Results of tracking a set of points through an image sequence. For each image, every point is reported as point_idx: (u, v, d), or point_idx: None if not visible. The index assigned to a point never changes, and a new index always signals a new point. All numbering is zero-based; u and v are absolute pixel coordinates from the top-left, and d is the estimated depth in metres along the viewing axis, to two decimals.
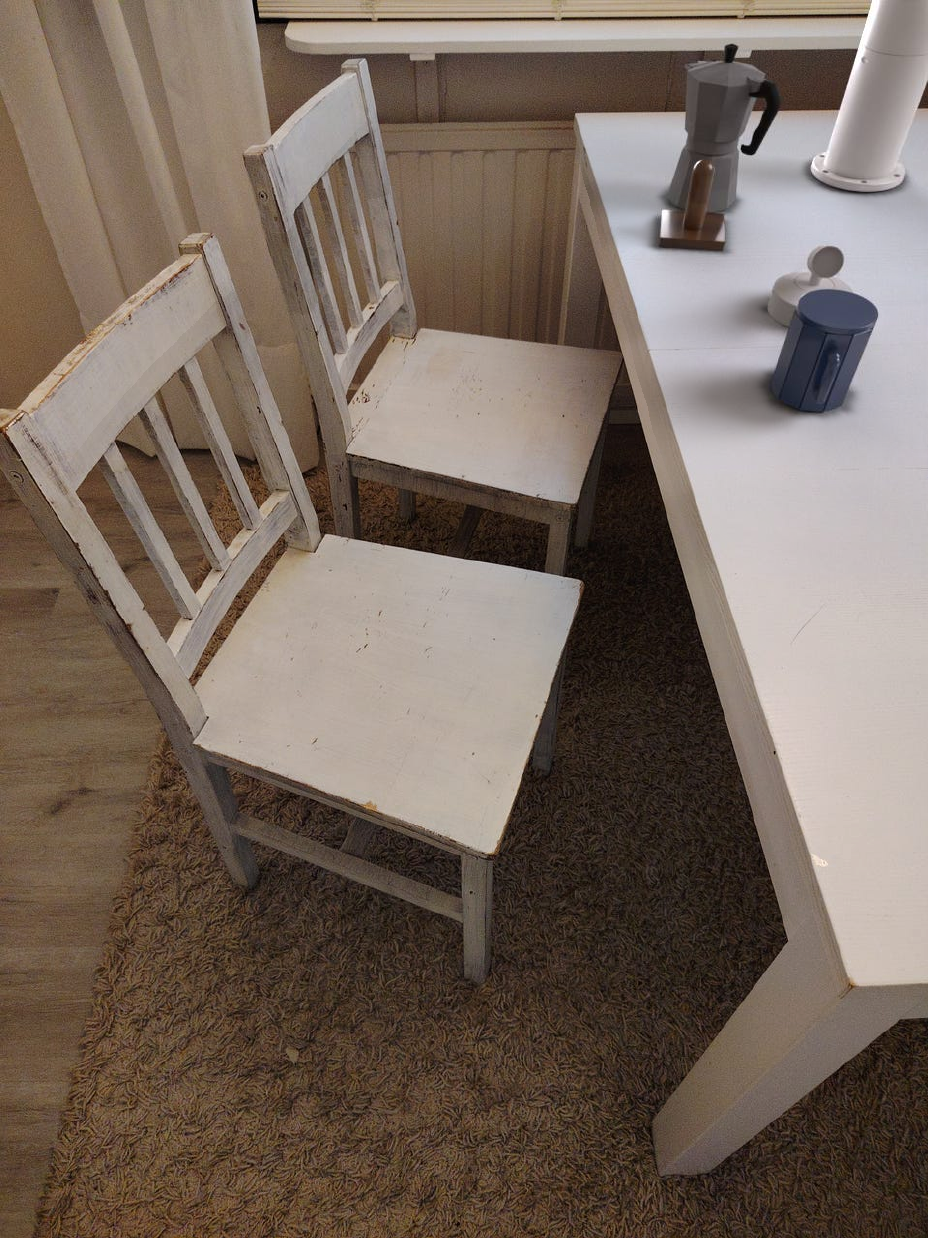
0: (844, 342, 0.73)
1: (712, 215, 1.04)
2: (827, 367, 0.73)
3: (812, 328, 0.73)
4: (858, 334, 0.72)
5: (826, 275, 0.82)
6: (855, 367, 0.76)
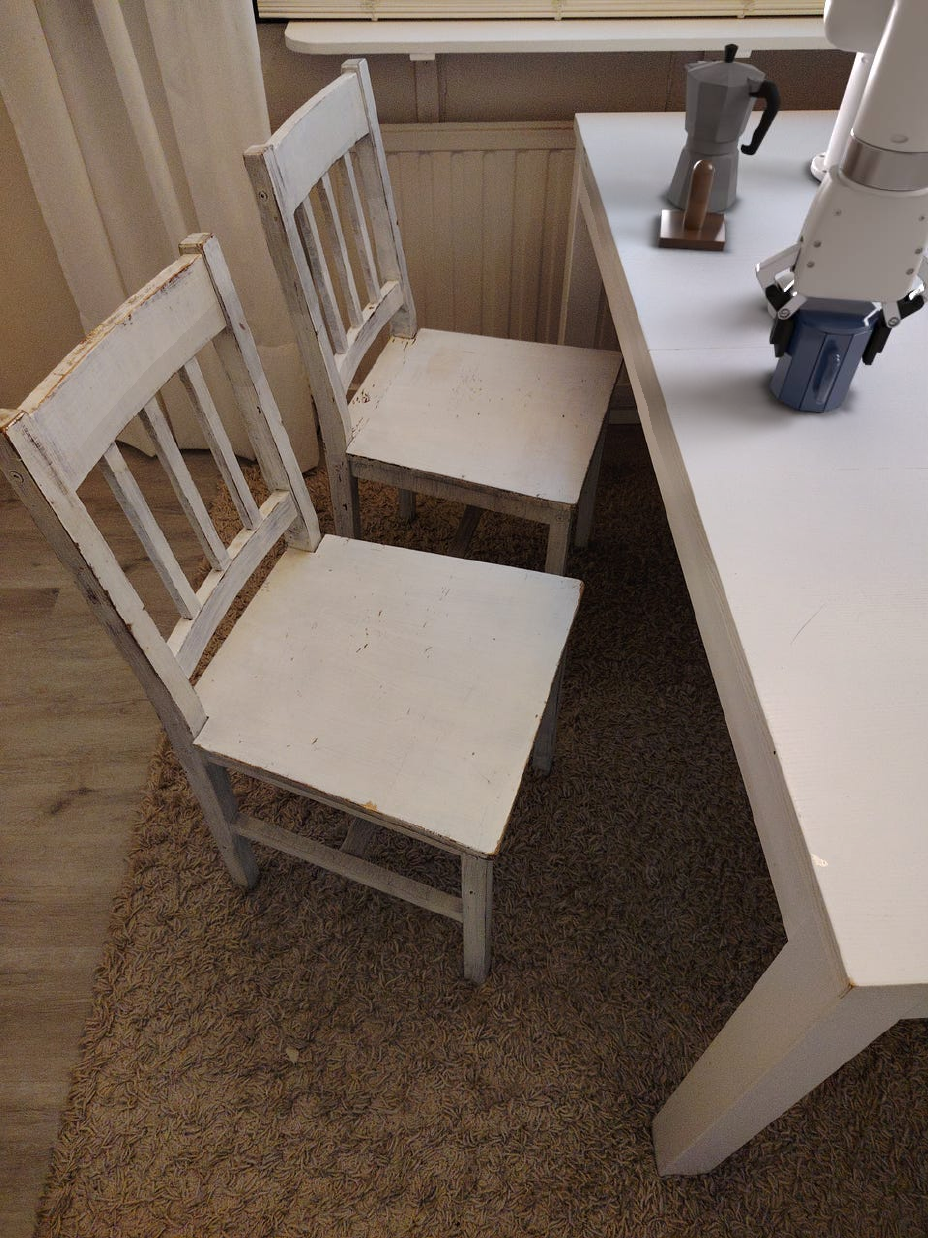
0: (844, 342, 0.73)
1: (712, 215, 1.04)
2: (827, 367, 0.73)
3: (812, 328, 0.73)
4: (858, 334, 0.72)
5: None
6: (855, 367, 0.76)
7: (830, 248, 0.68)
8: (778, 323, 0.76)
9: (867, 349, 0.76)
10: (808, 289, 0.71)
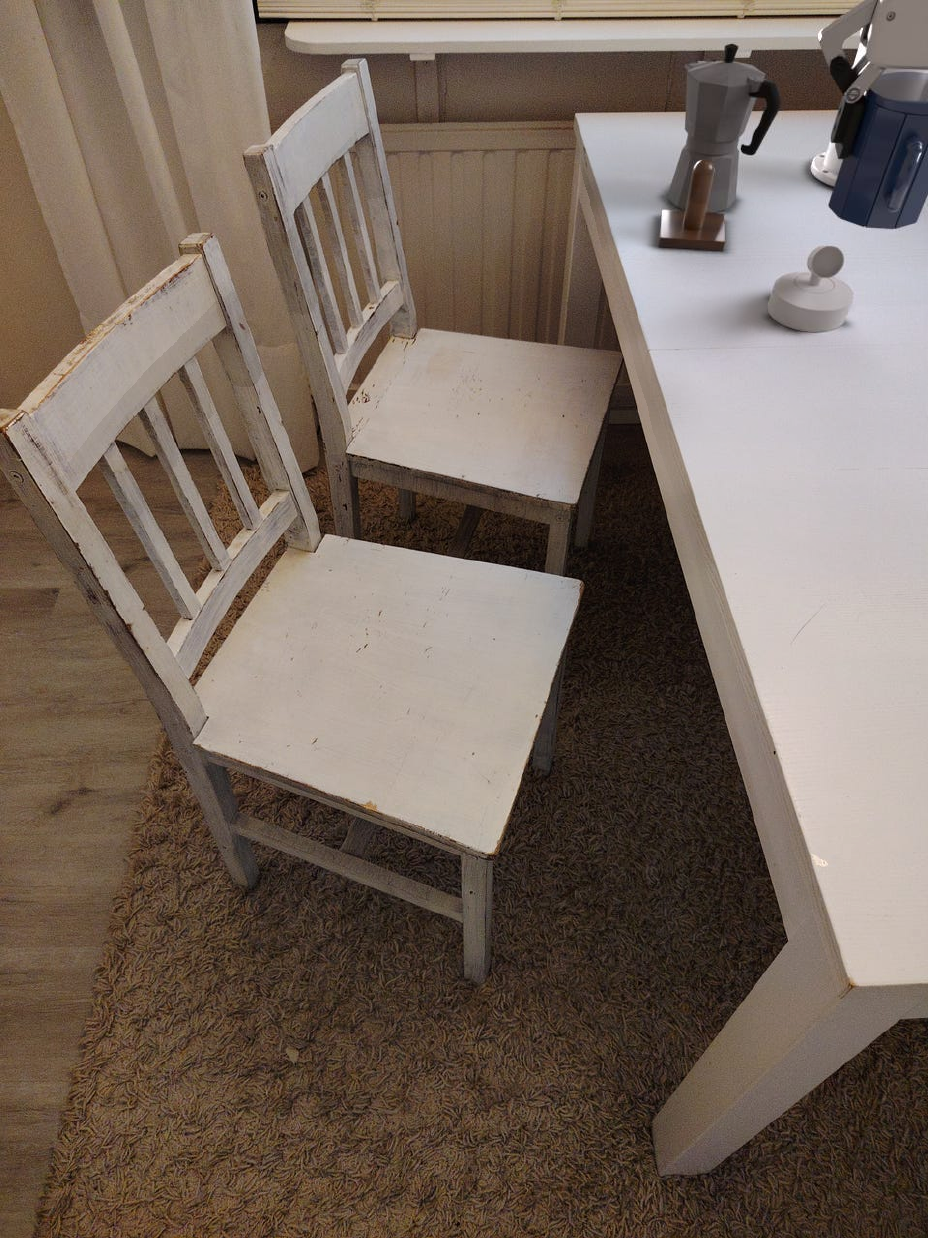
0: None
1: (712, 215, 1.04)
2: (906, 158, 0.60)
3: (888, 110, 0.60)
4: None
5: (826, 275, 0.82)
6: None
7: None
8: (844, 111, 0.62)
9: None
10: (885, 54, 0.58)
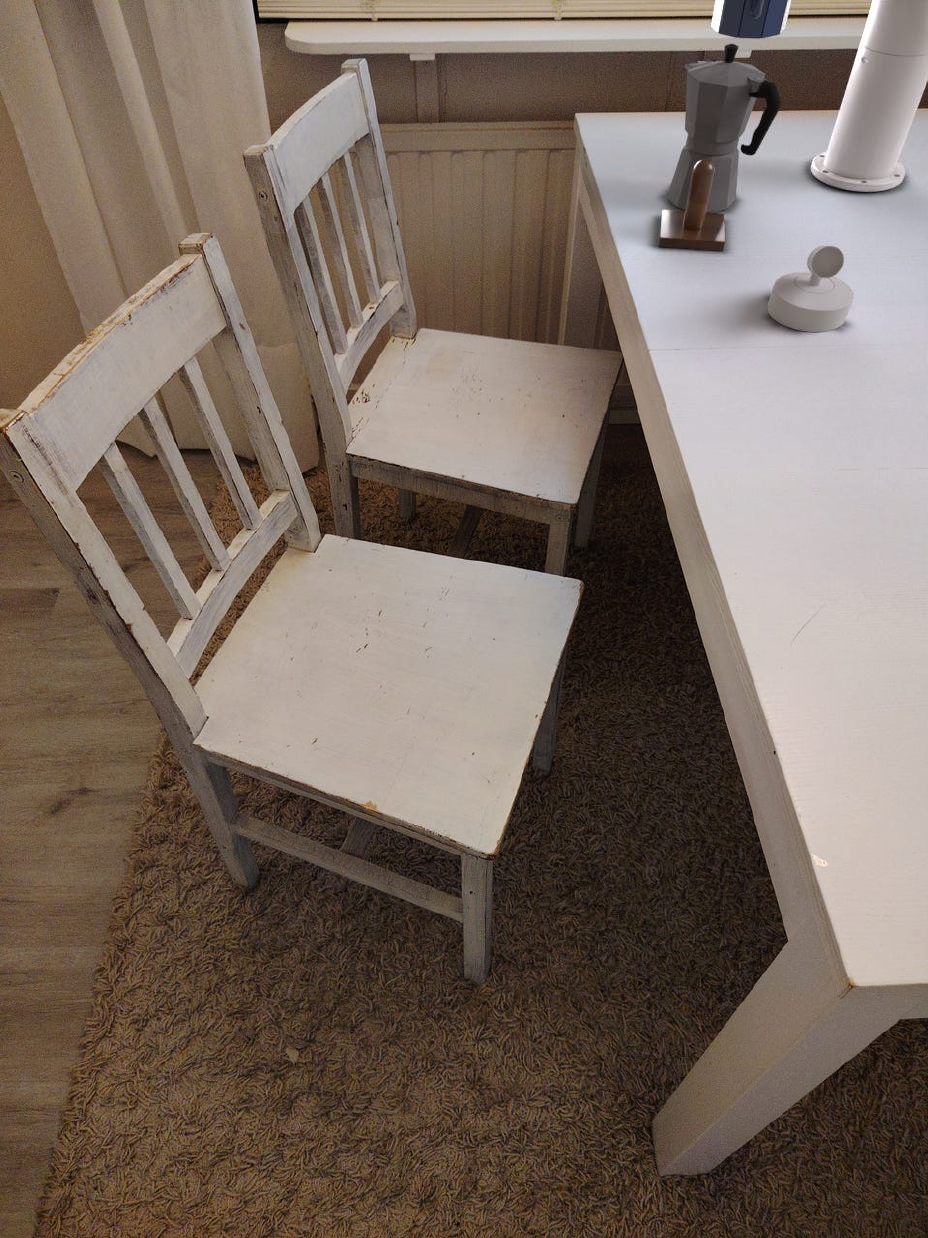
0: None
1: (712, 215, 1.04)
2: None
3: None
4: None
5: (826, 275, 0.82)
6: None
7: None
8: None
9: None
10: None
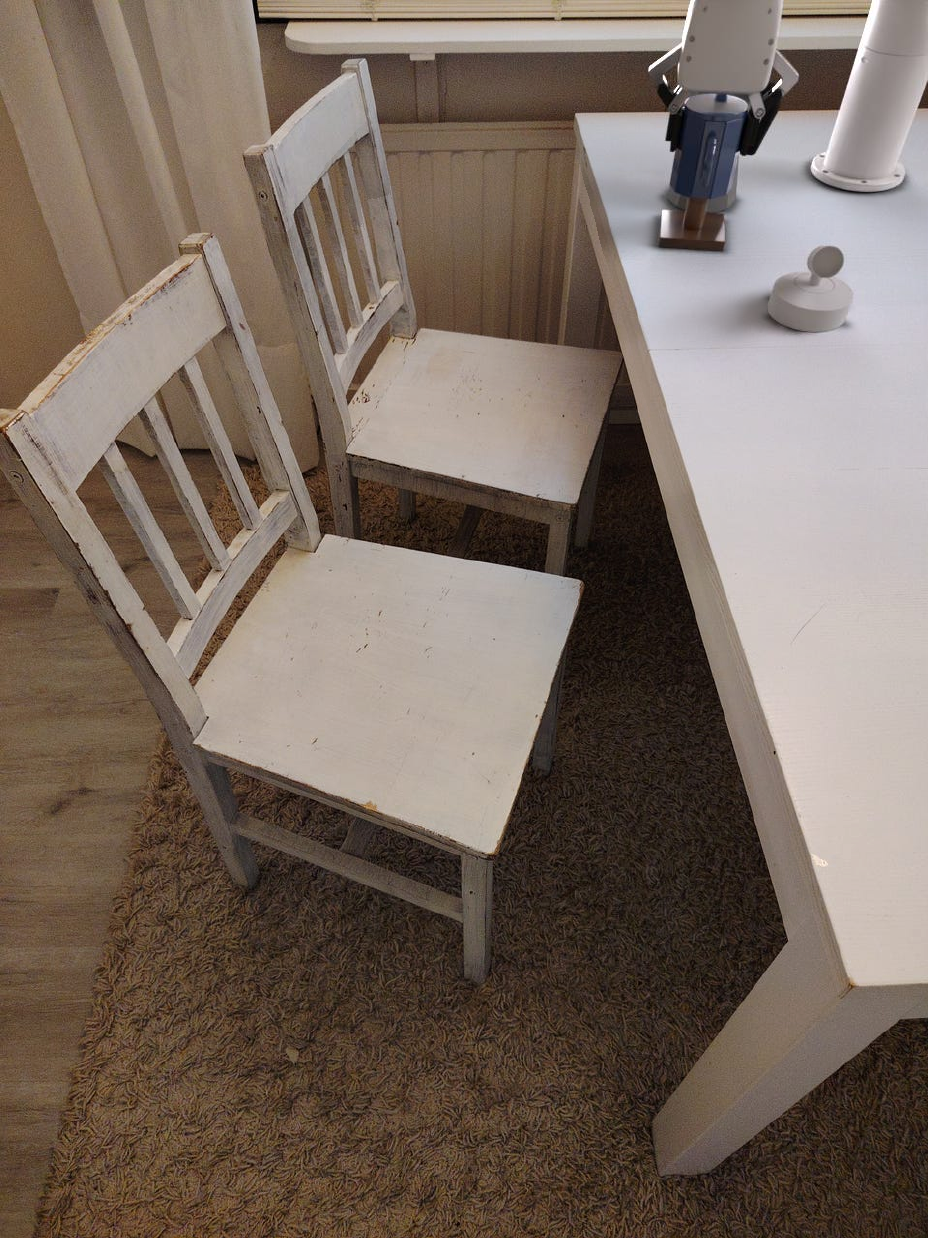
0: (720, 128, 0.90)
1: (712, 215, 1.04)
2: (707, 150, 0.91)
3: (694, 118, 0.91)
4: (730, 121, 0.90)
5: (826, 275, 0.82)
6: (732, 156, 0.93)
7: (702, 42, 0.86)
8: (670, 119, 0.93)
9: (742, 141, 0.93)
10: (689, 82, 0.89)
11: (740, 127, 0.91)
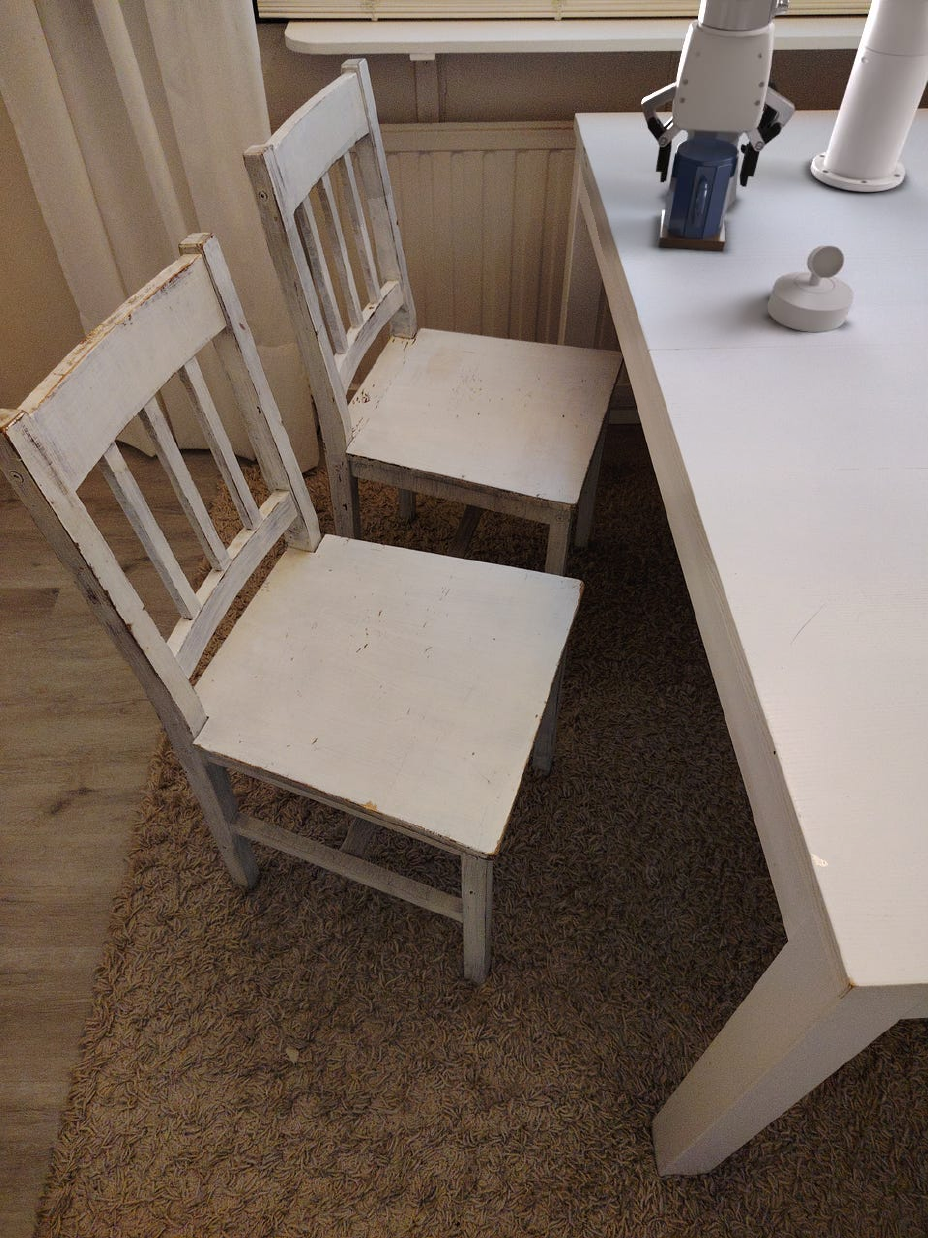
0: (710, 173, 0.94)
1: None
2: (698, 193, 0.94)
3: (686, 163, 0.94)
4: (720, 166, 0.94)
5: (826, 275, 0.82)
6: (723, 198, 0.97)
7: (695, 85, 0.89)
8: (660, 151, 0.96)
9: (742, 172, 0.96)
10: (683, 122, 0.92)
11: (730, 171, 0.95)
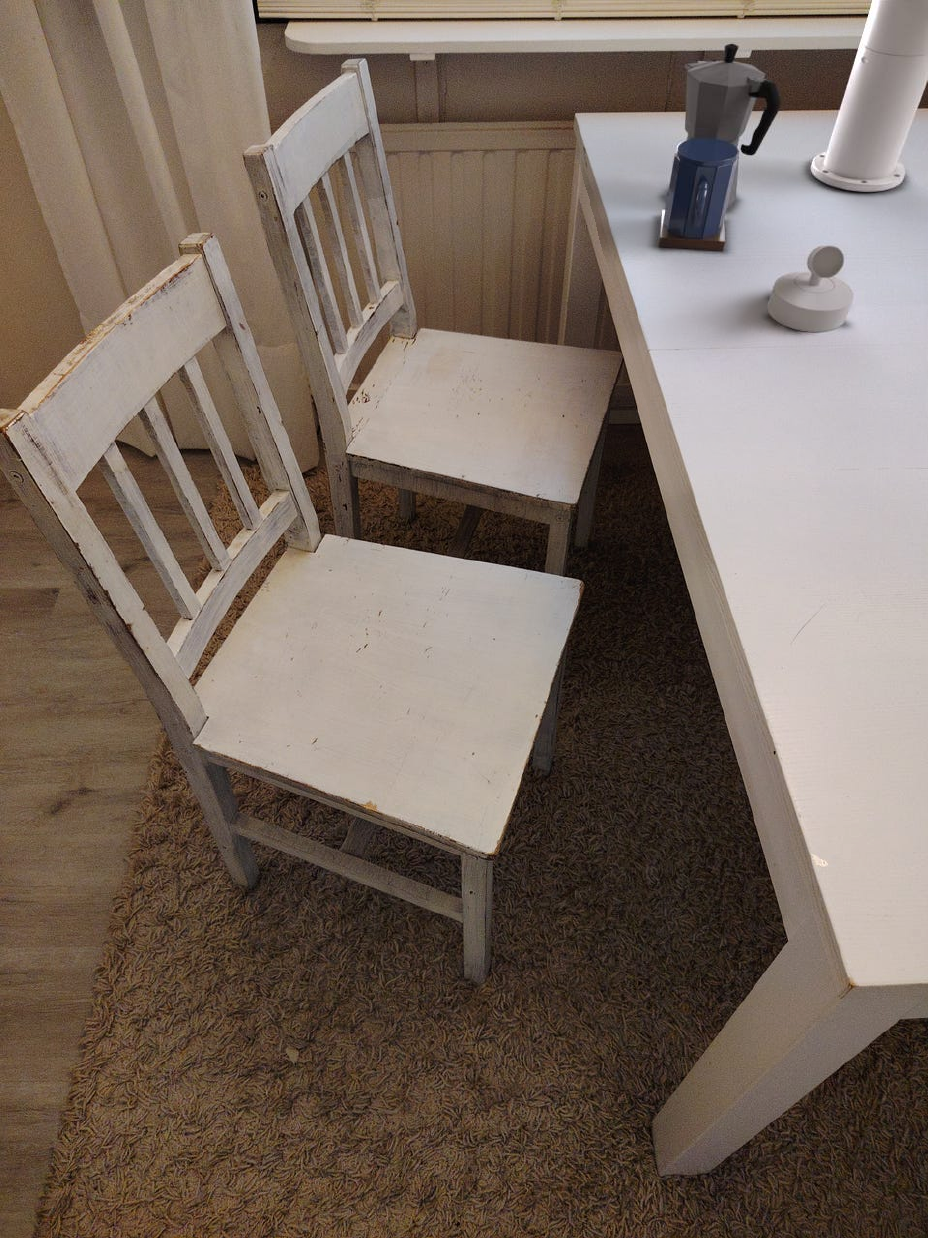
0: (710, 173, 0.94)
1: None
2: (698, 193, 0.94)
3: (686, 163, 0.94)
4: (720, 166, 0.94)
5: (826, 275, 0.82)
6: (723, 198, 0.97)
7: None
8: None
9: None
10: None
11: (730, 171, 0.95)
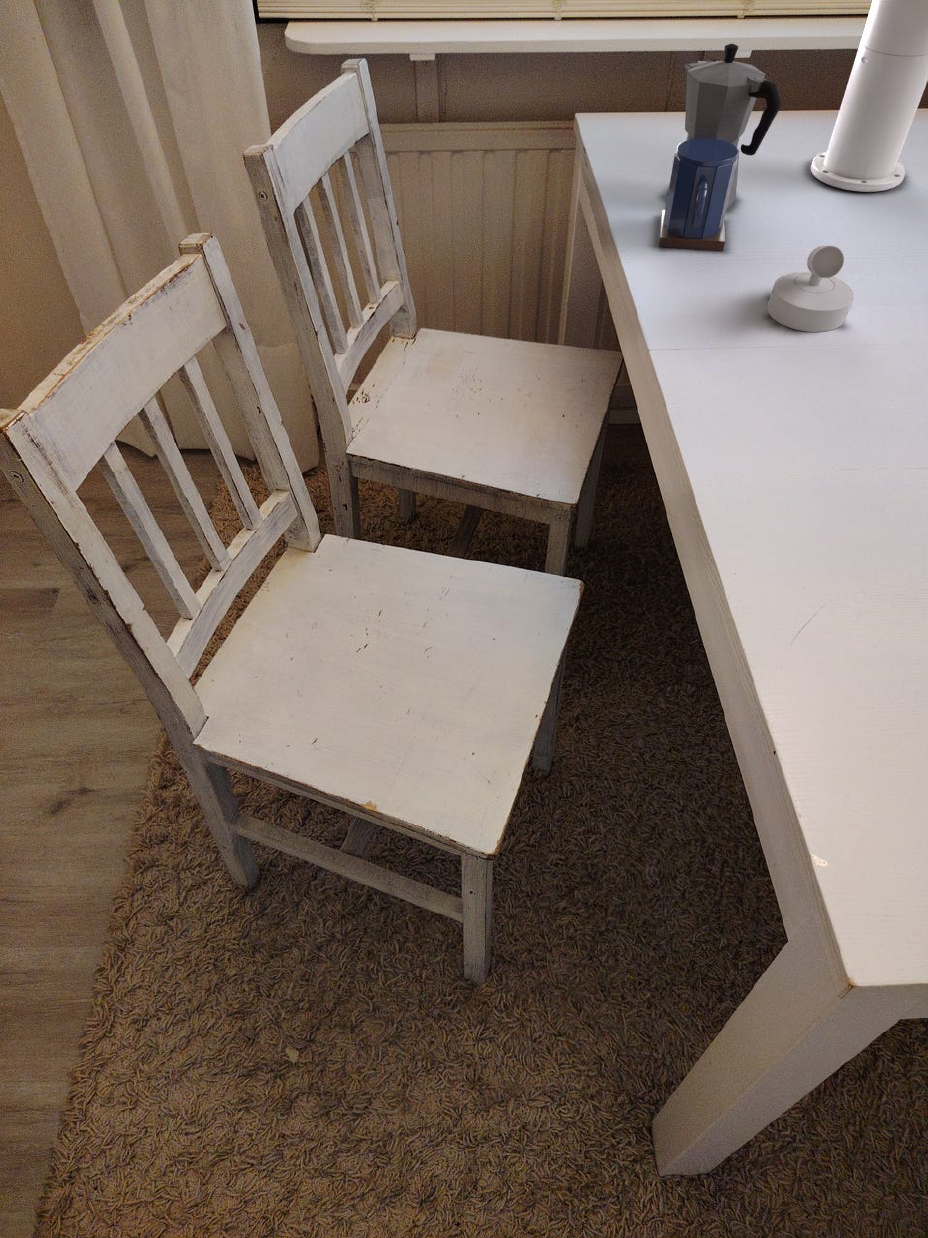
0: (710, 173, 0.94)
1: None
2: (698, 193, 0.94)
3: (686, 163, 0.94)
4: (720, 166, 0.94)
5: (826, 275, 0.82)
6: (723, 198, 0.97)
7: None
8: None
9: None
10: None
11: (730, 171, 0.95)
